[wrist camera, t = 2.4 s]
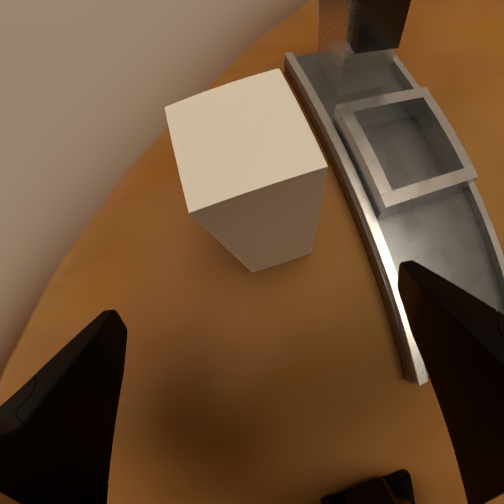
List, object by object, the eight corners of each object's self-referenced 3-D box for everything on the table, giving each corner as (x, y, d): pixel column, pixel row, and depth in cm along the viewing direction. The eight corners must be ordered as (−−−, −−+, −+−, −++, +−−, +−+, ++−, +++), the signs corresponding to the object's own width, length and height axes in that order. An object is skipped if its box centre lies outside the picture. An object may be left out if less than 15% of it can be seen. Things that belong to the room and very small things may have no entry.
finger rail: (505, 326, 17) (652, 318, 4) (406, 379, 18) (542, 452, 4) (377, 53, 23) (401, -76, 9) (284, 72, 24) (266, -74, 10)
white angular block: (311, 253, 21) (327, 166, 8) (252, 273, 21) (189, 212, 9) (288, 190, 22) (273, 57, 9) (232, 209, 22) (162, 95, 10)
